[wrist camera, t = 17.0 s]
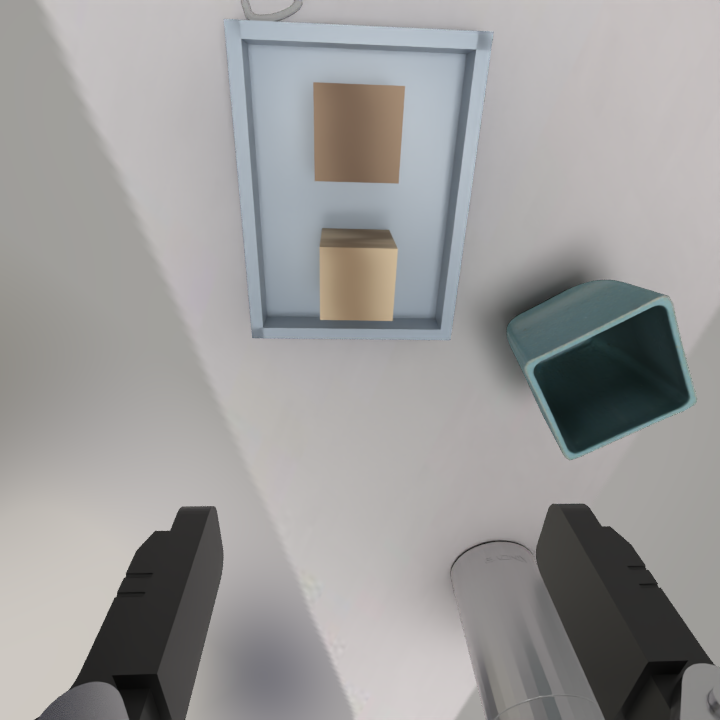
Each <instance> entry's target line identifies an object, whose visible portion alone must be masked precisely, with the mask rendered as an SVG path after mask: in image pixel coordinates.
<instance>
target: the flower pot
mask: <svg viewBox="0 0 720 720" xmlns="http://www.w3.org/2000/svg"><path fill="white" fill-rule="evenodd" d="M507 339H508V342H509V344H510V347H511V349H512V351H513V353H514V355H515V357H516V359H517V361H518V363H519V365H520V367H521V370H522V372H523V374H524V376H525V378H526V380H527V382H528V385H529V387H530V389H531V391H532V393H533V395H534V397H535V400H536V402H537V404H538V406H539V408H540V411H541V413H542V415H543V417H544V419H545V421H546V423H547V424H548V426H549V428H550V430H551V432H552V434H553V436H554V438H555V440H556V442H557V443H558V445H559V447H560V449H561V451H562V453H563V455H564V456H565V458H567V459H569V460H573V459H576V458H578V457H582V456H583V455H585V454H588V453H590V452H593V451H594V450H597V449H599V448H601V447H603V446H605V445H607V444H610V443H612V442H614V441H616V440H618V439H621V438H623V437H625V436H627V435H630V434H632V433H634V432H637V431H639V430H641V429H643V428H645V427H648V426H650V425H652V424H654V423H656V422H659V421H661V420H663V419H665V418H668V417H670V416H673V415H675V414H678V413H680V412H683V411H685V410H686V409H688V408H690V407H691V406H693V405H694V404H695V403H696V402H697V397H696V393H695V389H694V386H693V382H692V378H691V375H690V372H689V367H688V364H687V361H686V357H685V353H684V349H683V346H682V342H681V337H680V334H679V330H678V325H677V321H676V317H675V311H674V307H673V303H672V301H671V299H670V297H669V296H667V295H663V294H660V293H657V292H654V291H651V290H647V289H644V288H641V287H638V286H634V285H631V284H627V283H624V282H620V281H615V280H597V281H591V282H587V283H583V284H580V285H577V286H575V287H572V288H570V289H568V290H566V291H564V292H562V293H560V294H558V295H556V296H554V297H552V298H550V299H549V300H547V301H545V302H543V303H541V304H539V305H537V306H535V307H533V308H531V309H529V310H527V311H525V312H523V313H521V314H519V315H518V316H516V317H515V318H514V319H512V320H511V322H510V323H509V324H508V327H507Z"/></svg>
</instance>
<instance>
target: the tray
mask: <svg viewBox="0 0 720 720" xmlns="http://www.w3.org/2000/svg"><path fill="white" fill-rule="evenodd" d="M224 27H225V38H226V49H227V61H228V72H229V83H230V94H231V105H232V116H233V128H234V139H235V150H236V161H237V172H238V184H239V195H240V206H241V217H242V228H243V239H244V251H245V262H246V273H247V284H248V295H249V307H250V318H251V329H252V338H286V339H389V340H450V339H451V332H452V325H453V318H454V311H455V304H456V297H457V290H458V282H459V275H460V268H461V261H462V254H463V247H464V240H465V232H466V225H467V218H468V211H469V204H470V197H471V190H472V183H473V175H474V168H475V161H476V154H477V147H478V140H479V133H480V126H481V118H482V111H483V104H484V97H485V90H486V83H487V76H488V68H489V61H490V54H491V47H492V40H493V33H494V32H488V31H467V30H446V29H425V28H404V27H383V26H361V25H340V24H319V23H298V22H277V21H256V20H234V19H224ZM313 82H320V83H344V84H369V85H394V86H405V97H404V112H403V126H402V141H401V156H400V171H399V184H395V183H360V182H325V181H315V169H314V100H313ZM322 228H337V229H376V230H390V233H391V235H392V237H393V239H394V241H395V243H396V246H397V248H398V255H397V269H396V282H395V296H394V309H393V321H359V320H320V248H319V247H320V240H321V233H322Z"/></svg>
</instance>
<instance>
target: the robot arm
mask: <svg viewBox="0 0 720 720" xmlns="http://www.w3.org/2000/svg"><path fill="white" fill-rule="evenodd" d="M536 559H537V563H536V561H535V559H534V556H533V555H532V554H531V552H530V551H529V550H527V549H526V548H525V547H523V546H521V545H518V544H515V543H511V542H491V543H487V544H483V545H480V546H477V547H475V548H472V549H471V550H469V551H467V552H465V553H464V554H463V555H462V556H461V557H459V558H458V560H457V561H456V562H455V563H454V565H453V567H452V570H451V581H452V585H453V589H454V593H455V597H456V601H457V605H458V609H459V614H460V618H461V622H462V626H463V630H464V634H465V638H466V642H467V646H468V650H469V654H470V658H471V663H472V667H473V671H474V675H475V679H476V683H477V687H478V691H479V695H480V699H481V703H482V707H483V711H484V715H485V719H486V720H720V667H717V666H715V665H714V664H713V662H712V661H711V660H710V658H709V657H708V656H707V654H706V653H705V651H704V650H703V649H702V647H701V646H700V644H699V643H698V641H697V640H696V638H695V637H694V635H693V634H692V633H691V631H690V630H689V628H688V627H687V625H686V624H685V622H684V621H683V619H682V618H681V617H680V615H679V614H678V612H677V611H676V609H675V608H674V607H673V605H672V603H671V602H670V601H669V599H668V598H667V596H666V595H665V593H664V592H663V591H662V589H661V588H659V587H658V585H657V584H658V583H657V582H656V580H655V579H654V577H653V576H652V574H651V573H650V572H649V570H646V568H645V564H644V563H643V561H642V560H641V558H640V557H639V555H638V554H637V553H636V551H635V550H634V548H633V547H632V545H631V544H629V542H627V541H626V540H625V539H624V538H623V537H622V536H621V535H619V534H618V533H617V532H616V531H615V530H614V529H612V528H611V527H610V526H609V527H602V526H601V525H600V523H599V522H598V520H597V519H596V517H595V515H594V514H593V512H592V511H591V509H590V508H589V507H588V506H587V505H585V504H552V505H551V506H550V507H549V509H548V512H547V515H546V518H545V521H544V525H543V528H542V531H541V534H540V537H539V540H538V544H537V548H536ZM222 568H223V546H222V540H221V534H220V527H219V521H218V515H217V510H216V508H215V507H214V506H207V507H206V506H203V507H202V506H200V507H196V506H195V507H181V508H180V509H179V511H178V513H177V515H176V518H175V520H174V523H173V525H172V528H171V530H170V531H155V532H154V533H153V534H152V535H151V536H150V537H149V538H148V539H147V540H146V541H145V542H144V543H143V544H142V546H141V547H140V548H139V549H138V550H137V551H136V553H135V555H134V557H133V560H132V562H131V564H130V566H129V568H128V570H127V573H126V577H125V578H124V579H123V581H122V583H121V586H120V588H119V590H118V592H117V597H116V598H114V601H113V603H112V605H111V607H110V609H109V611H108V613H107V616H106V618H105V620H104V622H103V624H102V626H101V629H100V631H99V633H98V635H97V637H96V639H95V641H94V644H93V646H92V648H91V650H90V652H89V655H88V657H87V659H86V661H85V663H84V665H83V667H82V669H81V672H80V673H79V675H78V677H77V679H76V681H75V682H74V684H73V685H72V687H71V688H70V689H69V690H68V691H67V692H66V693H64V694H63V695H61V696H60V697H58V698H57V699H56V700H55V701H54V702H52V703H51V704H50V705H49V706H48V707H47V709H46V710H45V711H44V712H43V713H42V714H41V716H40V717H38V718H36V719H35V720H185V718H186V714H187V710H188V706H189V702H190V698H191V694H192V690H193V686H194V683H195V679H196V675H197V671H198V667H199V662H200V659H201V655H202V651H203V647H204V643H205V639H206V635H207V631H208V627H209V623H210V619H211V615H212V611H213V607H214V604H215V599H216V595H217V592H218V588H219V584H220V580H221V575H222Z"/></svg>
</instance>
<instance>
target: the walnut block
mask: <svg viewBox="0 0 720 720" xmlns="http://www.w3.org/2000/svg"><path fill="white" fill-rule="evenodd" d="M404 97H405V86H394V85H369V84H344V83H320V82H313V100H314V169H315V181H325V182H360V183H395V184H399V171H400V156H401V141H402V126H403V112H404Z"/></svg>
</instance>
